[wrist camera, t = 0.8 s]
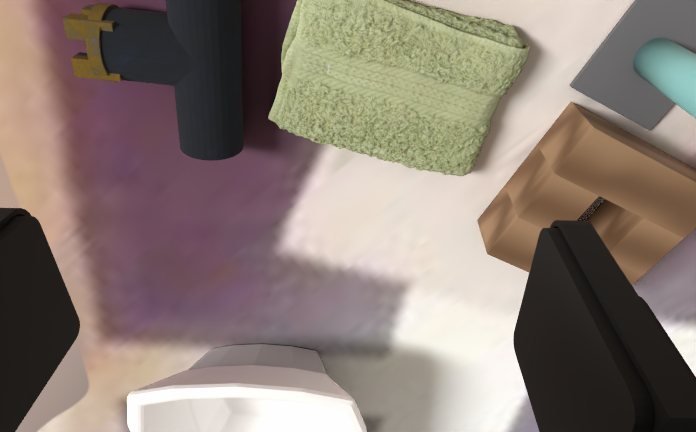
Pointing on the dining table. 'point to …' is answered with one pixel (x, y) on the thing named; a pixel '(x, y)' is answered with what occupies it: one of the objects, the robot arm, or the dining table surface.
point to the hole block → (594, 194)
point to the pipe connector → (173, 63)
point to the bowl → (247, 395)
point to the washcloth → (395, 80)
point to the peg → (669, 71)
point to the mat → (618, 55)
